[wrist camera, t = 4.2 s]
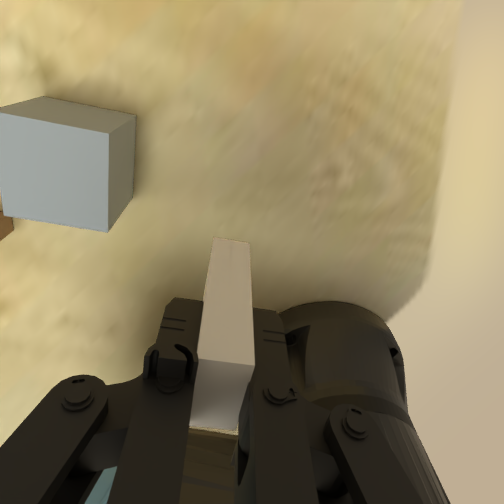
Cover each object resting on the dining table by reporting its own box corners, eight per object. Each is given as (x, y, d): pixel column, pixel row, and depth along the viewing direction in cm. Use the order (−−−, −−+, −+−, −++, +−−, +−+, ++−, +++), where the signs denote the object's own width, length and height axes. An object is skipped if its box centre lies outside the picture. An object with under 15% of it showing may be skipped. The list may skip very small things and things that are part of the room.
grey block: (136, 115, 25) (108, 133, 19) (133, 197, 27) (107, 232, 22) (43, 96, 24) (-12, 110, 19) (50, 182, 27) (3, 215, 21)
